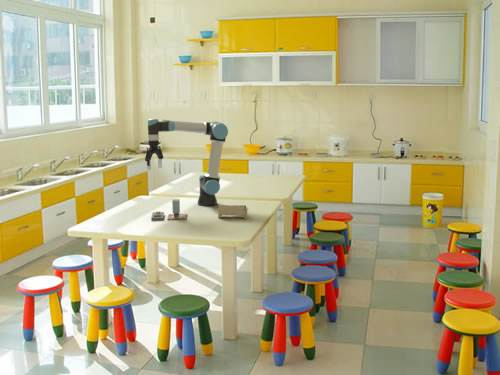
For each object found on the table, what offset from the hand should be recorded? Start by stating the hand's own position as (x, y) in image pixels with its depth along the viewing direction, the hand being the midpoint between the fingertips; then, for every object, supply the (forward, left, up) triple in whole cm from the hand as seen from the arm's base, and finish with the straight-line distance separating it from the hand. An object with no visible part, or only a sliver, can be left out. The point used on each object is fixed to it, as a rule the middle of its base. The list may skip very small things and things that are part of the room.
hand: (154, 169), depth 475 cm
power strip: (-3, +25, -32) cm, 41 cm away
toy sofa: (-56, +28, -32) cm, 70 cm away
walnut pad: (-17, +26, -32) cm, 44 cm away
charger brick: (-16, +25, -30) cm, 43 cm away
